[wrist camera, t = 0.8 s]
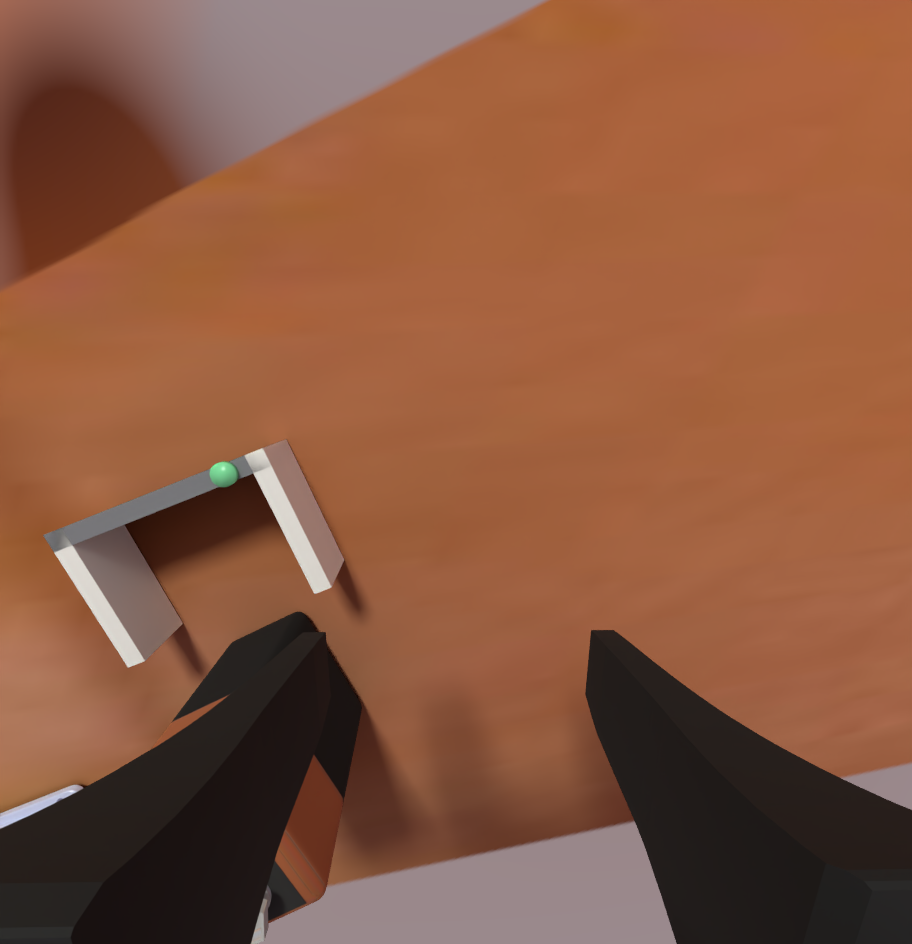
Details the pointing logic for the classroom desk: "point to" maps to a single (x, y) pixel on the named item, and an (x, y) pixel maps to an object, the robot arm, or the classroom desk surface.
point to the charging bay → (132, 581)
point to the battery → (324, 786)
